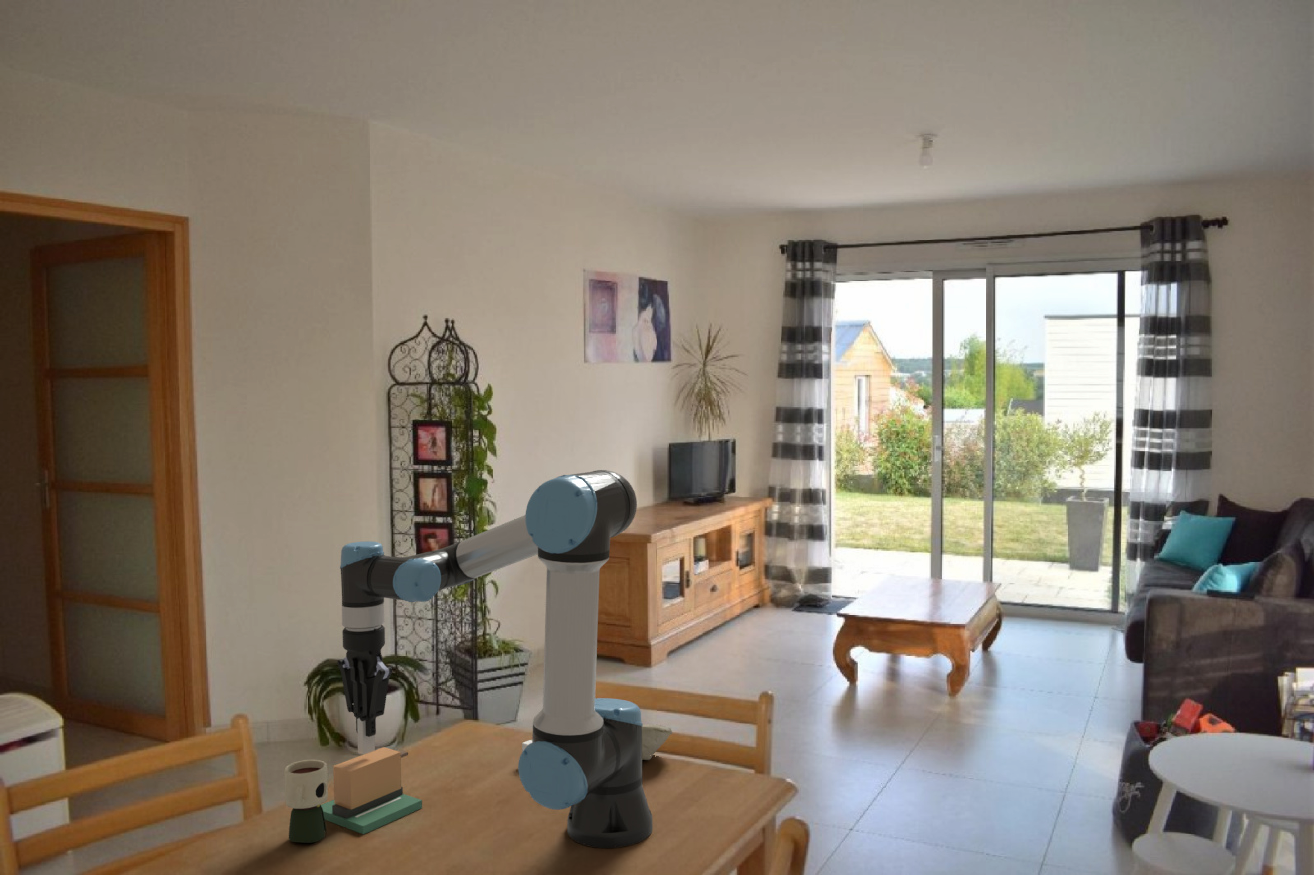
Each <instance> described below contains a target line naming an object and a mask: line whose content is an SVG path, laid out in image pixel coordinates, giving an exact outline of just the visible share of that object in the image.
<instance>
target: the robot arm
mask: <svg viewBox="0 0 1314 875" xmlns="http://www.w3.org/2000/svg"><path fill="white" fill-rule="evenodd" d="M637 508H638V500H637V495H636V492H635V490H634V488H633V486H632V485H631V483H630V482H629V480H627V479H626V478H625V477H624V476H623V475H621V474H620V473H617V472H614V471H612V470H607V469H598V470H593V471H588V472H581V473H573V474H572V473H571V474H562V475H560V476H556V477H555V478H552V479H549V480H547V481H544V482H543V483H541V484H540V485H538V487H537V488H535V490H534V492H533V493H532V494H531V496H530V498H529V499H528V502H527V505H526V509H525V514H524V515H522V516H519V517H516V518H514V519H512V520H510V521H508V522H504V523H502V524H499V525H498V526H495V527H493V528H490V529H488V530H485V531H482V532H481V533H478V534H475V535H473V536H470V537H468V538H466V539H463V540H461V541H458V542H456V543H453V544H450V545H448V546H446V547H442V548H440V549H436V550H431V551H430V550H429V551H427V552H423V553H419V554H414V555H409V556H403V557H402V556H388V555H385V552H384V546H383V545H382V543H380V542H377V541H372V540H369V541H355V542H350V543H346V544H344V546H342V548H341V552H340V565H339V569H340V579H341V580H340V581H341V582H340V583H341V626H343V629H342V631H341V632H342V634H341V635H342V647H343V649H344V650H345V651H346V654H345V657H344V658H341V659H338V660H337V661H336V662H337V663H336V664H337V667H338V669H339V671H340V675H341V680H342V681H341V682H342V687H343V691H344V698H345V704H346V709H347V712H348V713H352V714H353V716H354V718H355V725H356V726H355V730H356V734H357V754H359V755H364V754H367V753H370V752H372V751H375V750H376V742H375V741H376V738H375V736H376V734H377V724H376V723H377V722H376V720H377V719H376V718H378V717H380V716H383V715H384V714H385V708H386V703H387V694H388V688H389V682H390V678H391V675H392V673H393V668H392V666H386V665H385V663H384V662H383V661H384V658H383V655H382V649H383V647H384V646H385V644H386V628H385V626H384V625H383V624H384V623H385V599H390V600H391V599H393V600H398V601H405V602H409V603H416V602H418V603H420V602H422V603H426V602H428V601H431V600H432V599H433V598H434V597H435V595H436V594H438V592H440V591H442V590H445V589H449V588H453V587H457V586H458V587H459V586H463V585H465V584H468V583H470V582H472V581H474V580H475V579H477V578H480V577H482V576H485V575H488V574H490V573H492V572H495V571H498V570H501V569H503V568H506V567H508V566H511V565H514V564H516V563H518V562H521V561H524V560H526V559H529V558H533V557H535V556H537V559H539V561H540V562H542V563H543V565H544V566H545V567H546V582H545V583H546V584H545V585H546V587H545V619H544V620H545V621H544V622H545V623H544V656H543V657H544V658H543V684H542V685H543V688H542V690H543V691H542V694H543V695H542V709H541V710H540V711H539V712H538V713H537V714H536V715H535V716H534V717H533V720H532V737H531V738H532V739H531V740H532V743H530V744H529V745H528V746H527V747H526V748H525V749H524V751H523V752H522V751H521V754H520V755H519V759H518V763H517V764H518V765H517V767H518V768H517V769H518V770H517V771H518V776H519V779H520V782H521V785H522V786H523V788H524V790H525V791H526V792H527V793H529V795H530V798H532V799H533V801H534V802H536V803H537V804H539V805H540V806H542V807H545V808H547V809H549V810H550V809H551V810H558V811H559V810H565V809H567V808H570V809H569V813H568V816H567V823H566V825H567V835H568V836H569V838H570V839H571V840H573V841H575V842H576V843H578V844H581V845H584V846H587V847H592V848H598V849H600V848H601V849H614V848H623V847H628V846H632V845H635V844H638V843H640V842H642V841H644V840H645V839H647V838H648V837H649V836H650V835H651V834H652V833H653V813H652V812H651V809H650V807H649V803H648V800H647V797H646V796H647V795H646V794H645V790H644V787H643V760H642V726H643V725H644V724H643V721H642V710H641V709H640V708H641V707H639V706H638V704H636V703H634V702H632V701H629V700H624V699H619V698H609V697H608V698H607V697H604V698H603V697H598V698H596V690H597V689H596V688H597V687H596V686H597V683H596V682H597V658H598V657H597V654H598V652H597V651H598V649H597V648H598V625H599V624H598V622H599V595H600V592H599V591H600V569H601V568H602V567H603V565H605V564H606V563H607V562H608V561H609V559H610V553H611V552H610V549H611V548H610V547H611V538H614V537H616V536H618V535H620V534H622V533H624V531H626V530H627V529H628V528H629V527H630V525H631V524H632V523H633V520H634V519H635V517H636V513H637Z"/></svg>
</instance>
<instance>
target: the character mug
mask: <svg viewBox="0 0 1314 875" xmlns="http://www.w3.org/2000/svg"><path fill="white" fill-rule="evenodd" d="M283 776H284V802H285V805H286V806H287V808H291V809H292V810H291V811H290V819H289V827H288V839H289V841H290V842H294V843H304V844H308V843H309V844H310V843H315V842H320V840H323V839H324V838H325V837H326V834H328V832H327V825H326V820H325V818H324V813H323V808H322V806H321V805H322V804H324V803H327V801H328V796H329V791H328V790H329V787H328V763H327V762H326V761H324V760H320V759H304V760H303V759H302V760H299V761H294V762H292V763H290V764H288V765H286V766H285V767H284V774H283Z"/></svg>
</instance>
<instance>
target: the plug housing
mask: <svg viewBox="0 0 1314 875" xmlns="http://www.w3.org/2000/svg"><path fill="white" fill-rule="evenodd" d="M408 755H409V752H408V751H405V750H402V749H400V750H395V749H391V748H388V747H384V746H383V747H379V748H378V749H375V751H372V752H370V753H367V754H364V755H362V754H360V755H359V756H355V757H353V758H350V759H347V760H346V761H343V762H340V763H337V764H335V765H333V766H332V767H333V768H332V770H333V772H332V773H333V800H334V804H337V805H340V806H343V807H346V808H348V809H354V808H356V807H359V806H361V805H363V804H366V803H368V802H370V801H373V800H375V799H377V798H380V797H382V796H385V795H387V794H389V793H392V792H394V791H396V790H399V789H401V787H402V763H401V762H402V761H401V760H402V758H404V757H407V756H408Z"/></svg>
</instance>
